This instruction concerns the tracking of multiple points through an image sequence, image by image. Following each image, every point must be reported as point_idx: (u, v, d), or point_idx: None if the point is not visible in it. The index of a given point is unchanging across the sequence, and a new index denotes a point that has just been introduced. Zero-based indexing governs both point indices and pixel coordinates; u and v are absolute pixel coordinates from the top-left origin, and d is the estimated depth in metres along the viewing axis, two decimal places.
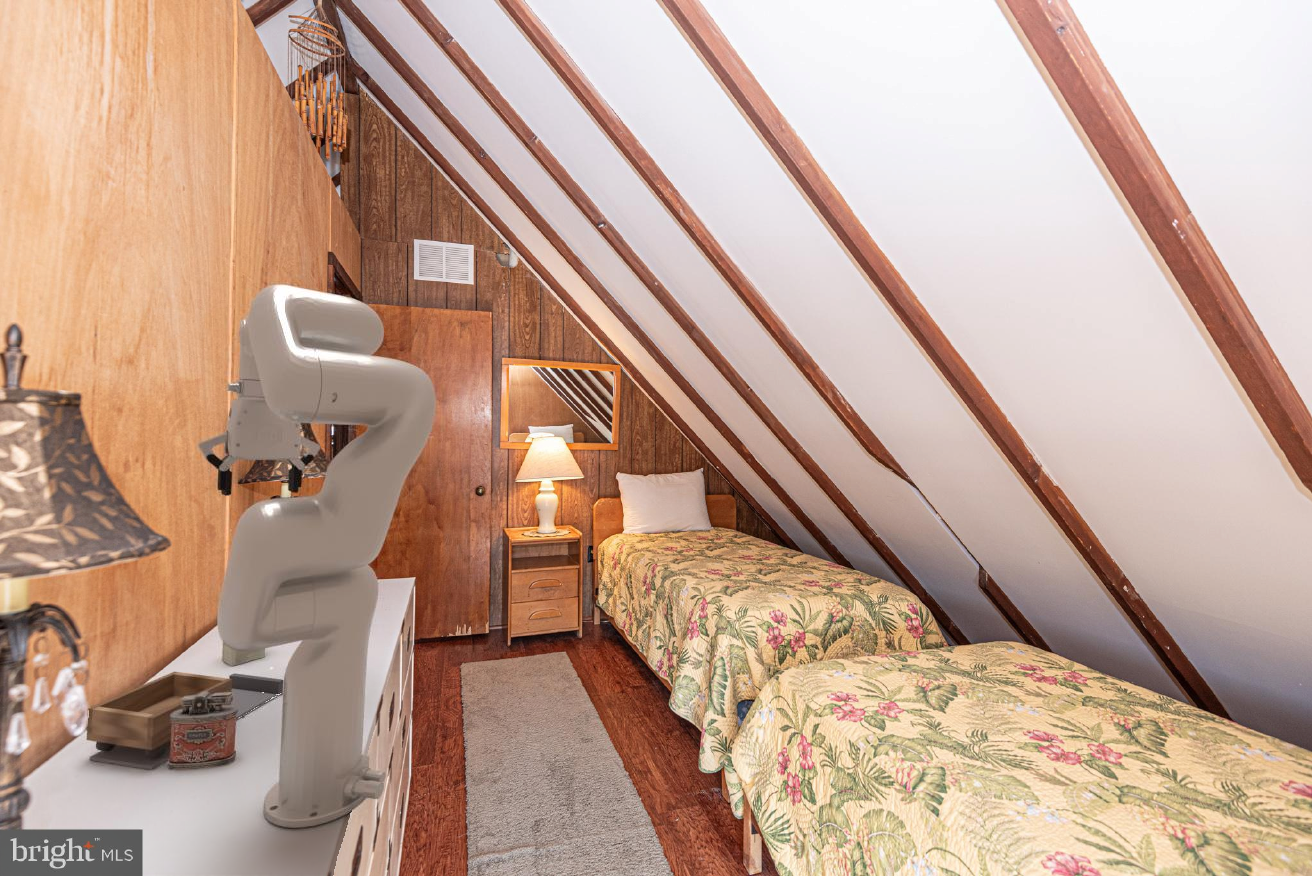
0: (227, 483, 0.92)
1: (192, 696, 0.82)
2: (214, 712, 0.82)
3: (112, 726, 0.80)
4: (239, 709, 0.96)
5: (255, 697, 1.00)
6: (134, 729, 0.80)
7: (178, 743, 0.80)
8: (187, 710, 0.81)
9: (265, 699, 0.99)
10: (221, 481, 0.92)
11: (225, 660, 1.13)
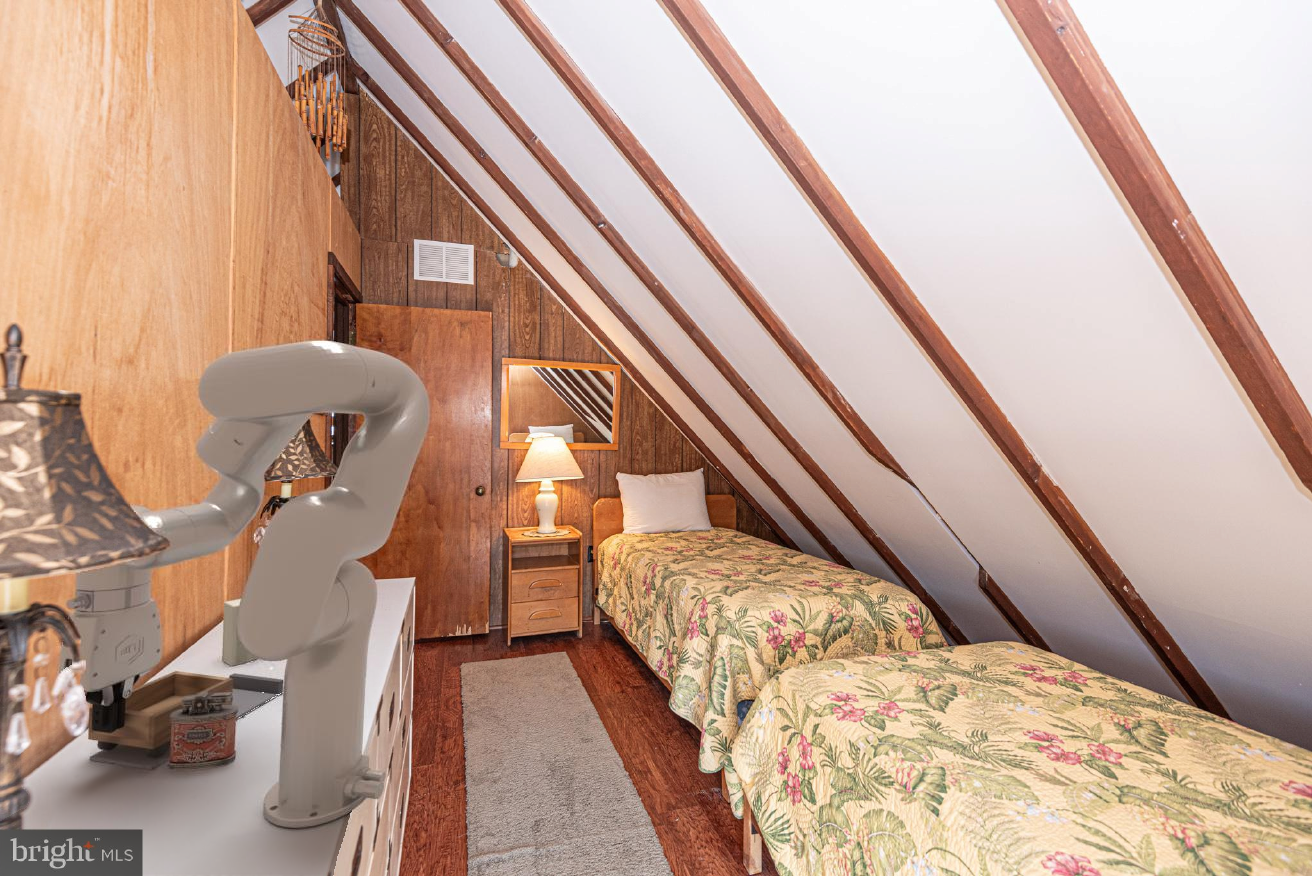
0: (113, 718, 0.77)
1: (192, 696, 0.82)
2: (214, 712, 0.82)
3: None
4: (239, 709, 0.96)
5: (255, 697, 1.00)
6: (135, 728, 0.80)
7: (178, 743, 0.80)
8: (187, 710, 0.81)
9: (265, 699, 0.99)
10: (103, 718, 0.77)
11: (225, 660, 1.13)
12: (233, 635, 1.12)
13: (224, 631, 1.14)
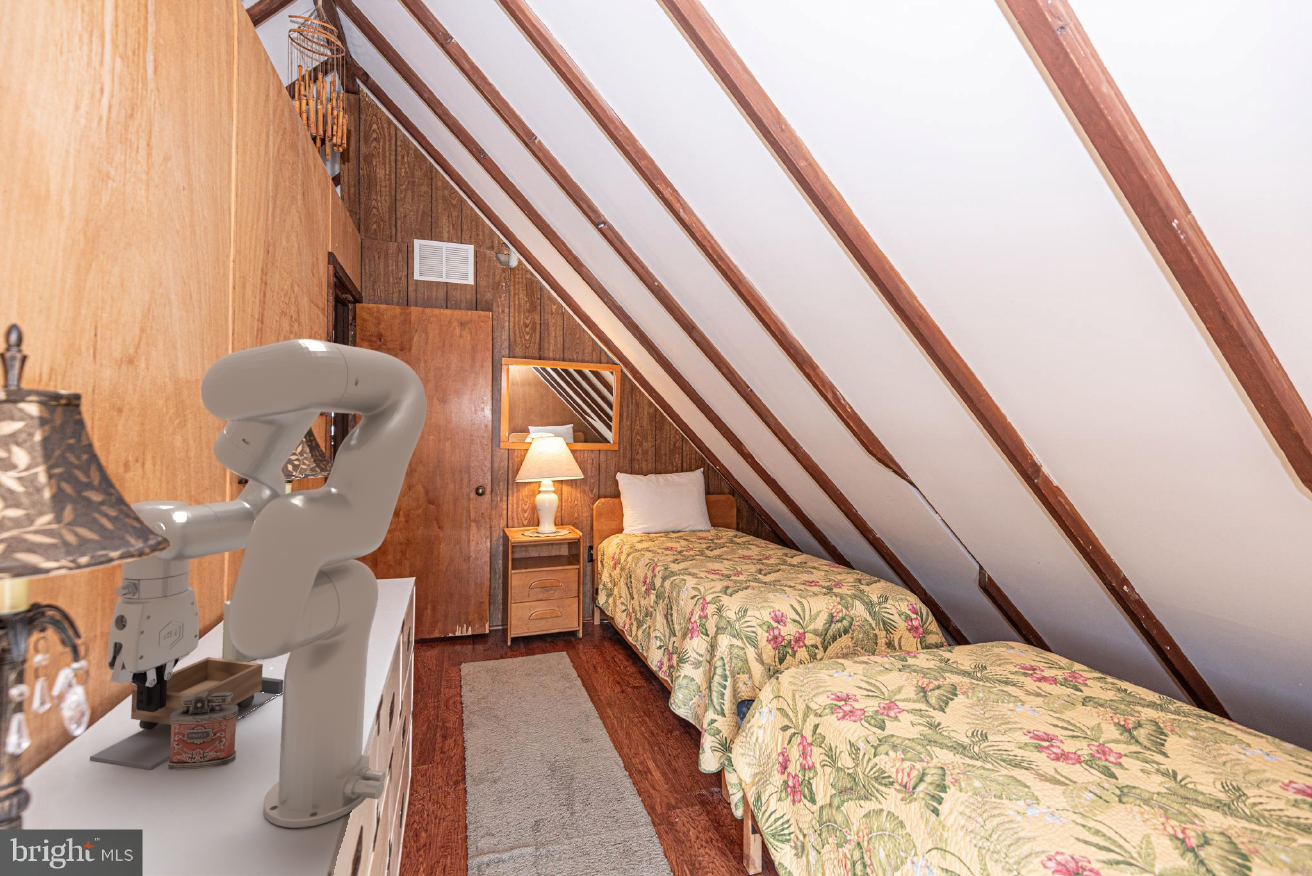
0: (156, 698, 0.83)
1: (192, 696, 0.82)
2: (214, 712, 0.82)
3: None
4: (239, 709, 0.96)
5: (255, 697, 1.00)
6: (175, 708, 0.85)
7: (178, 743, 0.80)
8: (187, 710, 0.81)
9: (265, 699, 0.99)
10: (147, 698, 0.83)
11: None
12: None
13: (224, 631, 1.14)
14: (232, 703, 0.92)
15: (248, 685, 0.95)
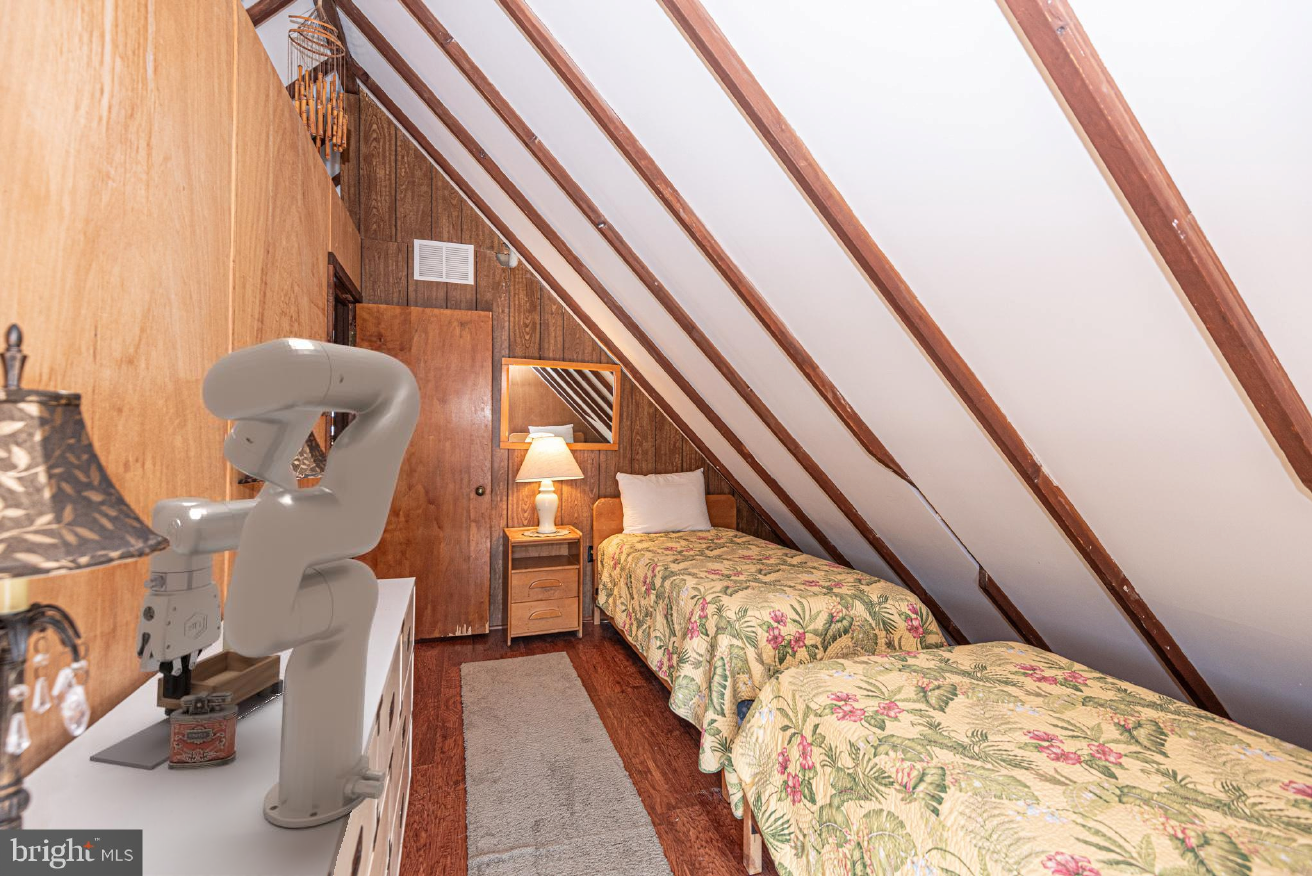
0: (181, 686, 0.87)
1: (192, 696, 0.82)
2: (214, 712, 0.82)
3: None
4: (239, 709, 0.96)
5: (255, 697, 1.00)
6: None
7: (178, 743, 0.80)
8: (187, 710, 0.81)
9: (265, 699, 0.99)
10: (173, 686, 0.87)
11: None
12: None
13: None
14: (252, 692, 0.96)
15: (267, 675, 0.99)
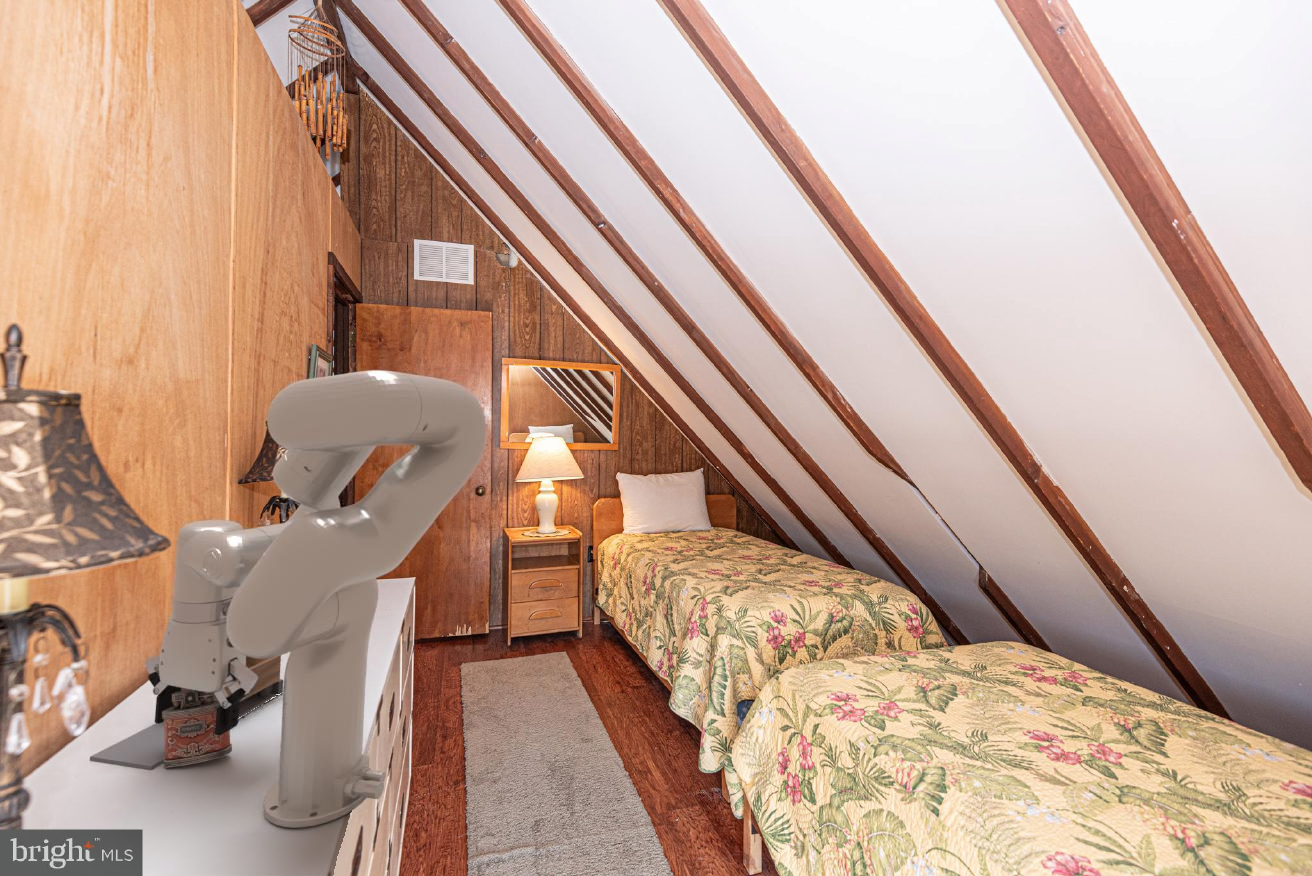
0: None
1: (183, 691, 0.82)
2: (206, 704, 0.82)
3: None
4: (239, 709, 0.96)
5: (255, 697, 1.00)
6: None
7: (172, 739, 0.80)
8: (179, 705, 0.82)
9: (265, 699, 0.99)
10: (237, 712, 0.82)
11: None
12: None
13: None
14: (253, 692, 0.96)
15: (267, 675, 0.99)
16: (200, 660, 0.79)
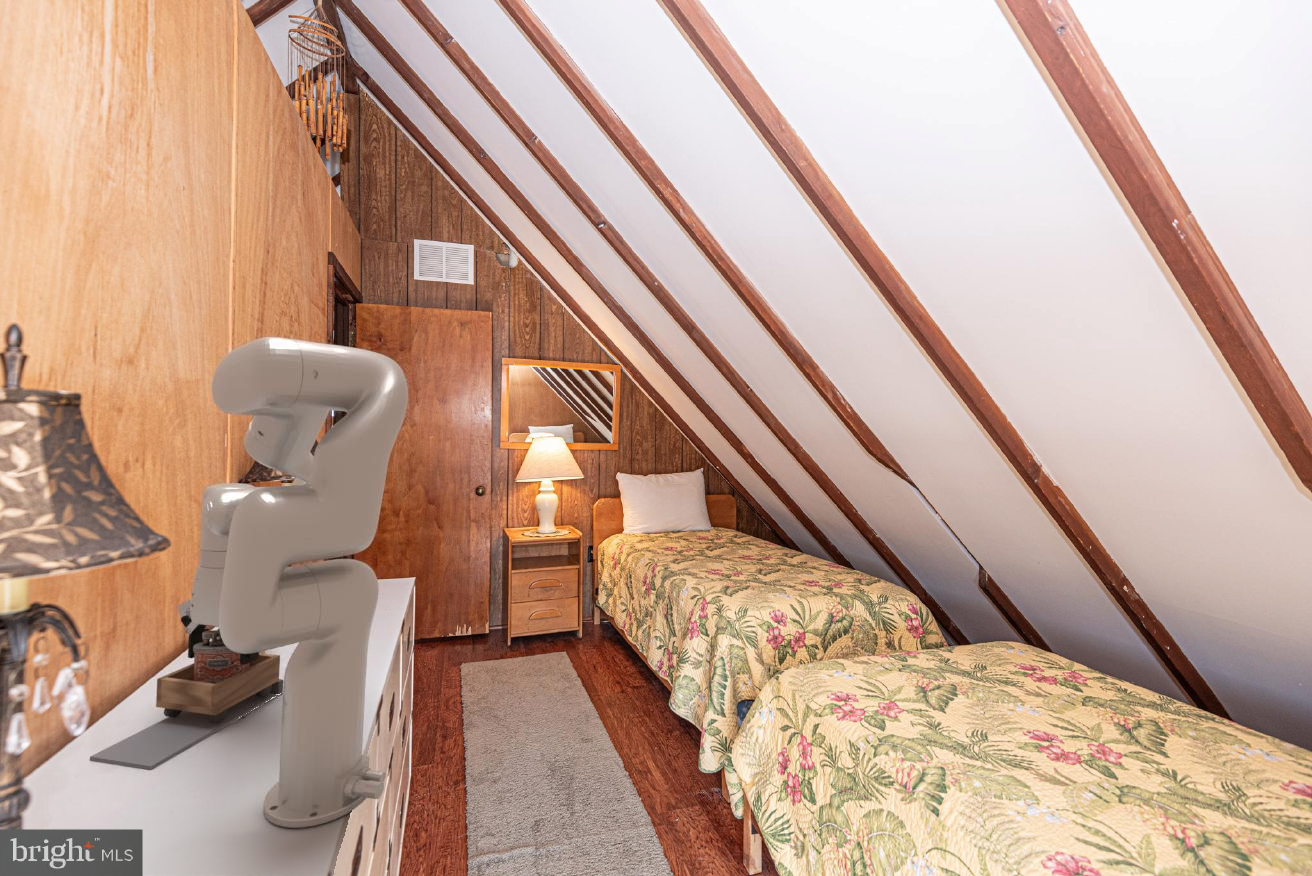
0: None
1: (211, 631, 0.95)
2: None
3: (179, 694, 0.90)
4: (239, 709, 0.96)
5: (255, 697, 1.00)
6: (199, 697, 0.89)
7: (201, 670, 0.94)
8: (207, 642, 0.94)
9: (265, 699, 0.99)
10: None
11: None
12: None
13: None
14: (252, 692, 0.96)
15: (267, 676, 0.99)
16: None
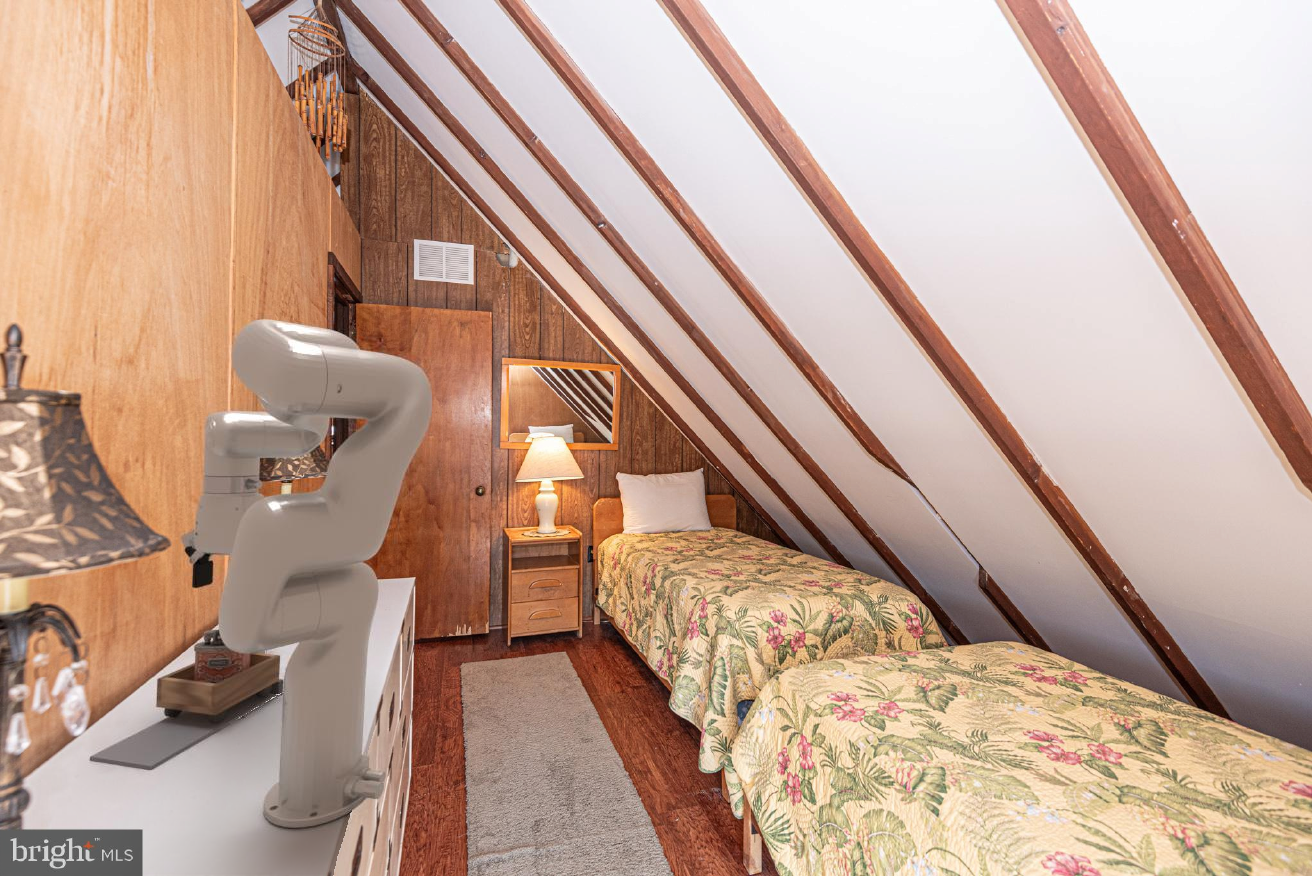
0: None
1: (213, 630, 0.95)
2: None
3: (179, 694, 0.90)
4: (239, 709, 0.96)
5: (255, 697, 1.00)
6: (199, 697, 0.89)
7: (201, 669, 0.94)
8: (209, 642, 0.95)
9: (265, 699, 0.99)
10: None
11: None
12: None
13: None
14: (252, 692, 0.96)
15: (267, 676, 0.99)
16: (229, 527, 0.93)
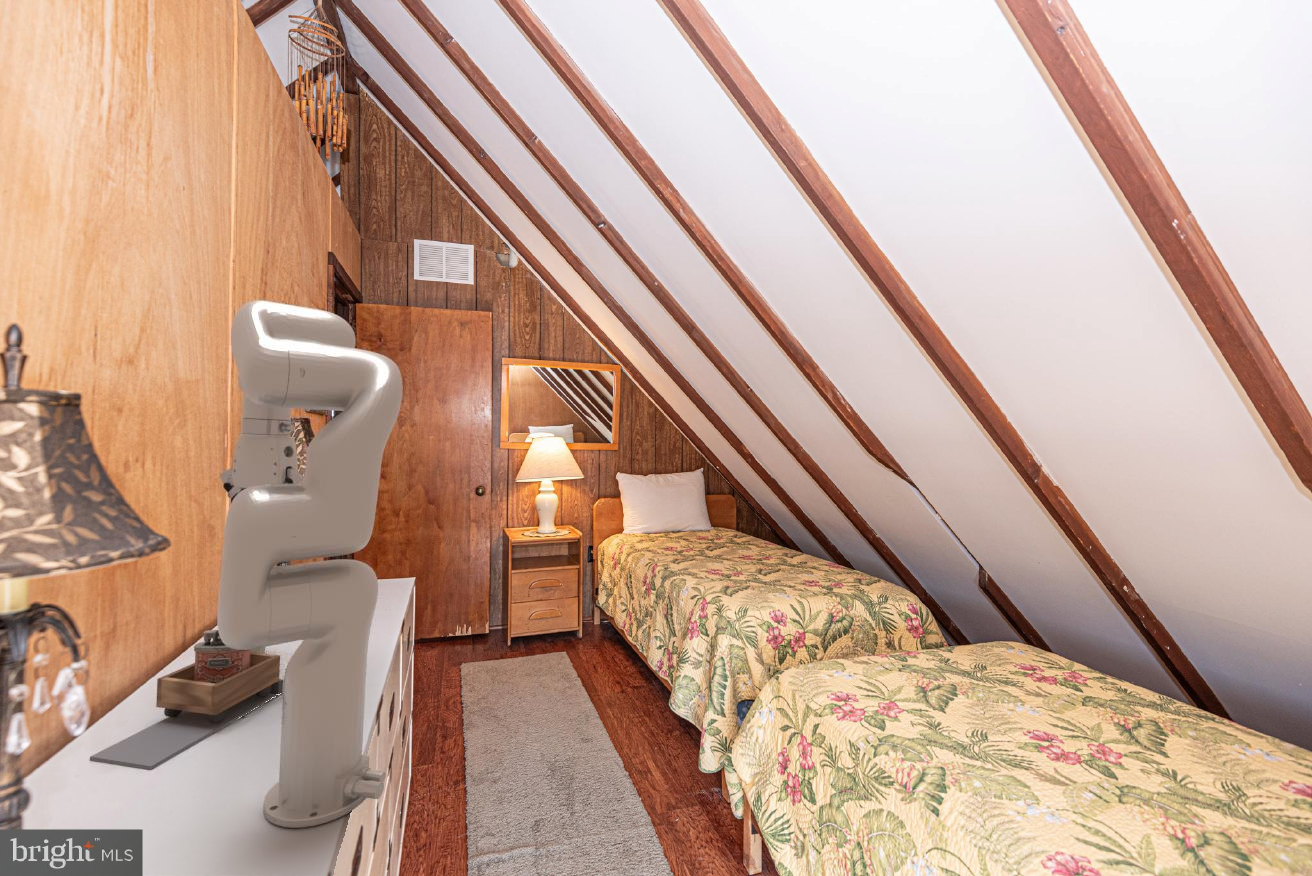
0: None
1: (213, 630, 0.95)
2: None
3: (179, 694, 0.90)
4: (239, 709, 0.96)
5: (255, 697, 1.00)
6: (199, 697, 0.89)
7: (201, 669, 0.94)
8: (209, 642, 0.95)
9: (265, 699, 0.99)
10: None
11: None
12: None
13: None
14: (252, 692, 0.96)
15: (267, 676, 0.99)
16: (264, 464, 1.03)
